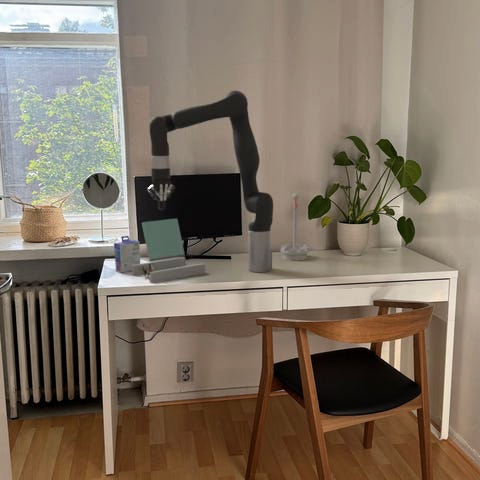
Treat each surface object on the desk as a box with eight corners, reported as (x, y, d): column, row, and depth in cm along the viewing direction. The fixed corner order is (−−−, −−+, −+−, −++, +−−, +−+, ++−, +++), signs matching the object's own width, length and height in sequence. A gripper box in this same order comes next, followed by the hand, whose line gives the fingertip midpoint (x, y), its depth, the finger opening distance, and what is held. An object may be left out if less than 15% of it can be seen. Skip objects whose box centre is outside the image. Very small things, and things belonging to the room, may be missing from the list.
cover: (184, 255, 270) (183, 256, 271) (177, 218, 272) (175, 219, 273) (150, 261, 260) (149, 261, 261) (142, 222, 262) (141, 222, 263)
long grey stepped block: (183, 266, 272) (183, 257, 272) (204, 273, 259) (204, 263, 258) (132, 274, 258) (131, 265, 257) (151, 282, 244) (151, 272, 244)
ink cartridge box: (134, 267, 271) (133, 234, 268) (141, 269, 267) (140, 236, 264) (114, 270, 265) (113, 237, 262) (121, 272, 261) (119, 239, 258)
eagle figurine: (134, 276, 251) (147, 275, 244) (140, 259, 253) (153, 259, 246) (148, 283, 255) (161, 283, 249) (154, 267, 258) (167, 267, 251)
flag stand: (278, 255, 294) (278, 191, 288) (305, 254, 295) (306, 191, 289) (283, 261, 281) (283, 195, 275) (311, 260, 282) (312, 194, 276)
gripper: (151, 168, 242) (152, 212, 246) (179, 166, 251) (180, 209, 254) (141, 167, 248) (143, 210, 251) (169, 165, 256) (170, 207, 260)
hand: (161, 209), depth 253 cm, fingers closed
